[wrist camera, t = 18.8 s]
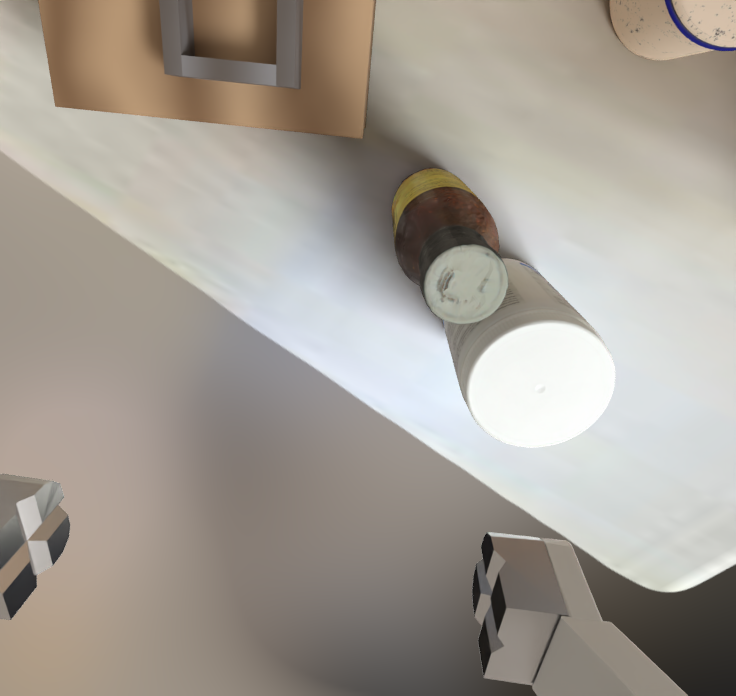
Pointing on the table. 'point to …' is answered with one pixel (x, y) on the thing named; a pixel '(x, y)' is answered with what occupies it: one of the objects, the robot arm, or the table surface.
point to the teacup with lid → (674, 26)
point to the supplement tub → (532, 365)
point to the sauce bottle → (448, 246)
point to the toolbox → (215, 60)
